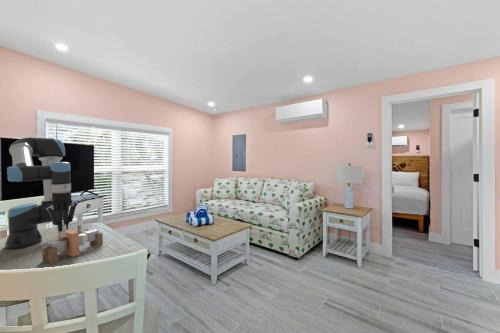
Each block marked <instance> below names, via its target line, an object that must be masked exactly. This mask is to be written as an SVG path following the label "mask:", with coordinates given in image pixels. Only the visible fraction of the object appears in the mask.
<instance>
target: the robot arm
mask: <svg viewBox="0 0 500 333" xmlns="http://www.w3.org/2000/svg"><path fill="white" fill-rule="evenodd" d="M64 144H65V143H64V141H63V140H62V139H60V138H53V137H51V138H50V137H33V136H32V137H31V136H30V137H29V136H28V137H23V138H20V139H17V140H16V141H14V142H12V143H11V144H10V146H9V148H8V151H9V154H10V155H11V159H12V160H11V161H12V166H8V167H6V171H7V172H6V175H7V176H6V177H7V181H8V182H12V183H13V182H17V183H19V182H32V181H33V182H34V181H42V183H43V196H44V197H43V200H41V202H40V204H37V203H36V202H28V203H24V204H18V205H16V206H13V207H11V208H9V209H8V213H7V218H8V234H7V235H8V236H7V237H6V238H7V239H6V240H5V243H4V247H5V249H7V250H15V249H24V248H27V247H32V246H35V245H37V244H40V243H41V242H42V241H43V236H42V234H41V232H40V230H39V229H38V228H39V227H38V225H42V224H48V223H52V225H54V226H57V231H59V232H60V237H62V238H64V237H67V232H66V230H69V224H70V223H72V222H73V221H74V220H73V219H74V215H75V212H76V207H77V206H78V203H77V202H73V200H72V192H71V191H72V181H71V175H72V174H71V171H72V170H71V169H72V168H71V163H70V162H69V161H68V162H67V161H62V160H63V157H65V156H66V147H65V145H64ZM32 157H38V160H39V161H41V165H34V160H33V158H32Z"/></svg>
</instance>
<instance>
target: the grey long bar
mask: <svg viewBox="0 0 500 333" xmlns="http://www.w3.org/2000/svg"><path fill="white" fill-rule="evenodd" d="M99 232H100V231H99V229H95V228H92V229H88V231H85V232H83V233H82V234H79V246H81V245H84V243H86V242H87V243H90V241H93V240H96V234H99ZM46 246H47V247H49V248H56V247H57V248H58V254H60V253H59V252H61V251H64V250H67V249H69V238H66V237H65V238H61V239H59V238H58V239H56V240H52V241H48V242H46Z"/></svg>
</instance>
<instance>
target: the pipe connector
mask: <svg viewBox="0 0 500 333" xmlns="http://www.w3.org/2000/svg"><path fill="white" fill-rule="evenodd" d="M76 229H77V230H76ZM76 229H75V230H73V229H72V230H71V231H76V232H79V234H82V233H83V232H85V231H88V230H89V229H88V228H84V229H82V224H81V223H78V224H76Z"/></svg>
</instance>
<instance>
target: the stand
mask: <svg viewBox="0 0 500 333" xmlns="http://www.w3.org/2000/svg"><path fill="white" fill-rule="evenodd" d="M103 236H104V235H103V232H100V231H99V234H96V240H93V241H90V242H89V245H91V246H95V247H100V246H102V245H104V237H103ZM41 254H42V256H41V257H42V263H47V264H48V265H49V264H50V265H52V264H54V263H58V262H59V253H58V248H57V247H56V248H49V247H47V245H46V246H42V247H41Z"/></svg>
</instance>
